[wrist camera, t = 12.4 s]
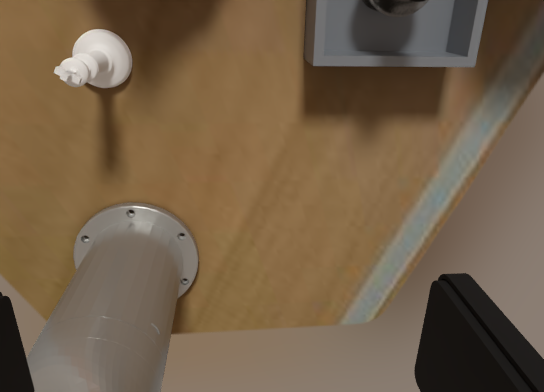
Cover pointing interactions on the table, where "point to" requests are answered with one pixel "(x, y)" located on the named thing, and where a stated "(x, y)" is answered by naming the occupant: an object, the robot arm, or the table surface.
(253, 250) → the table surface
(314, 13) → the box
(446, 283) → the robot arm
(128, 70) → the chess piece
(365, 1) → the grey pawn
